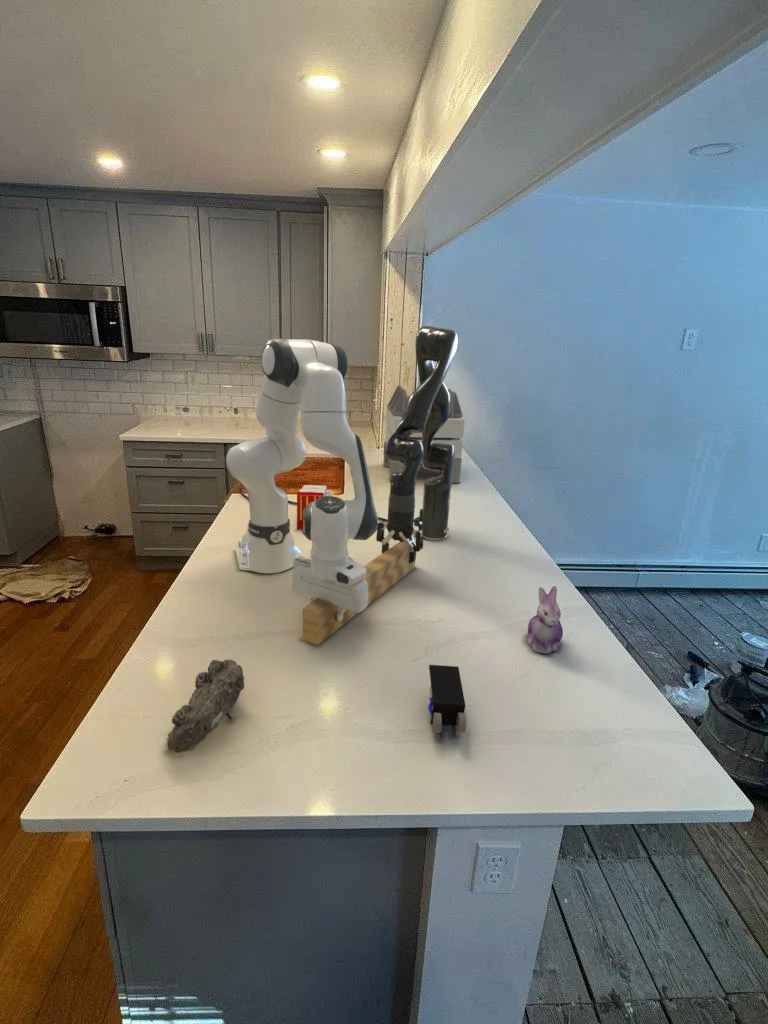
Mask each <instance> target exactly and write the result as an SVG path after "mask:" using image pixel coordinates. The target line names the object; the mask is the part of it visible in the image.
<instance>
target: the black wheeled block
mask: <svg viewBox="0 0 768 1024" xmlns="http://www.w3.org/2000/svg"><path fill="white" fill-rule="evenodd" d="M428 670H429V677H430V678H429V679H430V686H429V694H430V698H429V701H430V702H429V704H428V705H427V709H428V712H429V714H430V725H432V732H433V734H437V736H438V737H439V738H441V737H442V728H443V727H449V726H450V727H451V734H452V737H454V738H456V737H457V736H458V734H457V733H459V734H465V733H466V731H467V716H466V713H465V710H466V700H465V694H464V690H463V685H462V679H461V678H462V677H461V673H460V667H459V666H453V665H442V664H441V665H440V664H439V665H438V664H429V666H428ZM442 726H443V727H442Z"/></svg>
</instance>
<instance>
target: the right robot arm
mask: <svg viewBox="0 0 768 1024" xmlns="http://www.w3.org/2000/svg"><path fill="white" fill-rule="evenodd" d="M458 340H459V339H458V333H457V332H456V331H455V330H453V329H449V328H444V327H440V326H439V327H437V326H430V325H423V326H420V327H419V329H418V331H417V333H416V337H415V347H414V348H415V357H416V364H417V371H418V372H417V373H418V380H419V385H418V386H417V387H416V388H415V389H414V390H413V391H412V392H411V394H410V395H409V396H410V397H409V399H408V401H407V403H406V407H405V410H404V413H403V416H402V419H401V421H400V423H399V424H398V426H397V428H396V429H395V431H394V432H393V434H392V435H391V437H390V439H389V440H388V443H387V446H386V455H387V457H388V459H389V460H391V461H393V462H398V463H403V464H406V465H405V466H404V468H403V470H398V471H394V472H393V473H392V475H391V480H390V486H389V495H388V508H387V518H384V517H380V516H378V526H377V531H376V537H375V540H376V542H380V543H381V554H383V553H384V552H386V551H387V550H389V549H390V543H389V542H390V541H391V540H393V541H398V542H404V543H405V544H406V546H408V548H409V550H410V552H409V563H413V562H414V561H415V562H416V561H417V553H419V552H420V551H422V550H423V549H424V540H426V541H432V542H440V541H444V540H446V539H447V538H448V531H450V527H448V525H449V517H450V516H449V514H450V504H451V494H452V493H451V491H452V483H451V481H452V471H453V464H454V457H455V449H454V446H453V445H451V444H444V443H434V442H432V440H433V438H434V436H435V434H436V433H437V432H438V431H439V430H440V428H441V427H442V426H443V425H444V424H445V423H446V421H447V420H448V418H449V416H450V394H449V392H448V390H447V389H448V387H447V386H446V384H445V382H444V380H445V378H446V376H447V374H448V371H449V370H450V367H451V365H452V363H453V361H454V358H455V355H456V352H457V350H458V344H459V343H458ZM435 362H436V365H434V363H435ZM446 387H447V388H446ZM421 432H422V444H421V442H419V441H417V440H413V439H408V437H409V436H410V435H411V434H415V433H421ZM421 462H422V465H423V466H422V467H423V468H424V469H425V470H429V471H437V472H440V471H442V472H443V474H441V473H440V475H438V476H433V477H429V478H427V479H425V480H424V482H423V493H422V496H423V497H422V506H421V508H420V509H419V516H417V517H415V510H416V509H415V508H416V495H415V493H416V480H417V476H418V474H419V470H420V467H421V466H420V464H421ZM288 504H292V505H296V506H297V501H291V500H288ZM379 520H380V521H379ZM414 527H417V528H418V529H415V528H414ZM386 530H387V532H388V533H387V535H386V536H385V531H386ZM413 535H414V537H413ZM414 538H415V539H414ZM408 540H409V541H408ZM415 542H416V544H415Z"/></svg>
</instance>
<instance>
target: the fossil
mask: <svg viewBox="0 0 768 1024" xmlns="http://www.w3.org/2000/svg"><path fill="white" fill-rule="evenodd" d="M243 670H244V669H243V667H242V665H240V664H237V662H236V661H235V660H234V659H232V658H231V659H227V658H226V659H224V660H223V661H222V660H217V659H212V660H211V661H210V663H209V665H208V666H207V671H201V672H199V673H198V674H197V675H196V676H195V680H194V684H195V685H194V687H195V689H194V690H193V693H192V694H191V697H190V698H189V700H188V704H184V705H182V706H181V707H180V709H177V710H176V711H175V713H174V715H173V716H172V718H171V723H172V724H173V727H172V730H171V731H170V732H168V734H167V738H166V741H167V742H166V745H167V749H168V750H169V751H173V752H174V753H176V754H178V753H182V752H188V751H189V752H192V751H193V750H195V748H196V747H197V746H199V744H200V743H201V742H203V741H204V740H205V739H206V738H207V737H208V736H209V735H210V734H211V733H212V732H214V730H215V729H217V727H218V726H219V724H220V722H221V721H222V720H223V719H224V718H225V716H226V717H227V719H229V720H233V717H232V715H230V714H229V710H230V709H231V708H234V706H235V704H236V703H237V702H238V699H239V697H240V695H241V693H242V691H243V690H245V689H244V688H245V675H244V671H243Z"/></svg>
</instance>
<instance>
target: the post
mask: <svg viewBox="0 0 768 1024" xmlns="http://www.w3.org/2000/svg"><path fill="white" fill-rule="evenodd" d="M408 541H409V539H408ZM414 542H415V544H416V541H414ZM409 552H410V550H409V548H408V546H406V544H405V543H404V542H400V541H398V542H397V543H396V544H394V545H392V546H391V547H389V550H387V551H386V552H384V553H383V554H382V553H381V554H380V555H378V556H377V557H375V558H374V559H373V560H371V561H369V562H368V563H367V564H365V565H364V566H363V567H364V568H365V569H366V571H367V573H366V576H365V577H364V579H365V580H366V582H367V585H368V605H370V604H371V603H372V602H373V601H375V600H376V599H378V598H379V597H380V596H381V595H383V594H384V593H385V592H386V591H388V589H390V588H392V586H394V585H395V584H396V583H398V582H399V581H400V580H402V579H403V578H404V577H405V576H406V575H408V574H409V573H410V572H411V571H413V570H414V569H415V568H416V560H415V561H414V562H413V563H409ZM338 611H340V610H338V606H335V605H332V603H330V602H327V601H324V600H321V599H318V598H317V599H315V600H314V601H312V602H311V601H310V602H309V603H308V604H306V605H304V606H303V607H302V640H303V641H306V642H308V643H311V644H314V645H316V646H318V645H320V644H321V643H322V642H323V641H325V640H326V639H327V638H329V637H330V636H331V635H332V634H334V633H335V632H336V631H338V629H340V628H341V627H343V625H345V624H347V622H348V621H350V620H352V618H353V617H355V616H356V615H357V614H358V613H356V612H353V611H350V610H347V609H346V610H345V612H344V613H343V619H342V620H341V621H340V622H339V621H336V620H334V614H335V613H337V612H338Z"/></svg>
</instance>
